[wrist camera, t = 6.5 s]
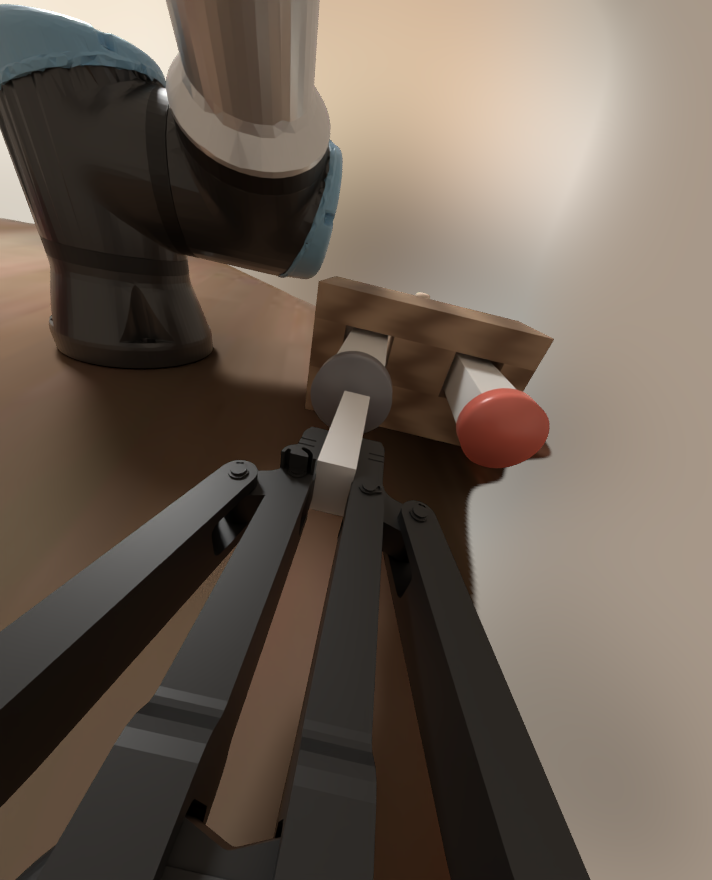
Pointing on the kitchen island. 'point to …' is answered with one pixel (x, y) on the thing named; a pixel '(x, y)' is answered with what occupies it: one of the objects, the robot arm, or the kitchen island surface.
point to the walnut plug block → (420, 348)
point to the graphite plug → (355, 378)
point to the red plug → (492, 414)
